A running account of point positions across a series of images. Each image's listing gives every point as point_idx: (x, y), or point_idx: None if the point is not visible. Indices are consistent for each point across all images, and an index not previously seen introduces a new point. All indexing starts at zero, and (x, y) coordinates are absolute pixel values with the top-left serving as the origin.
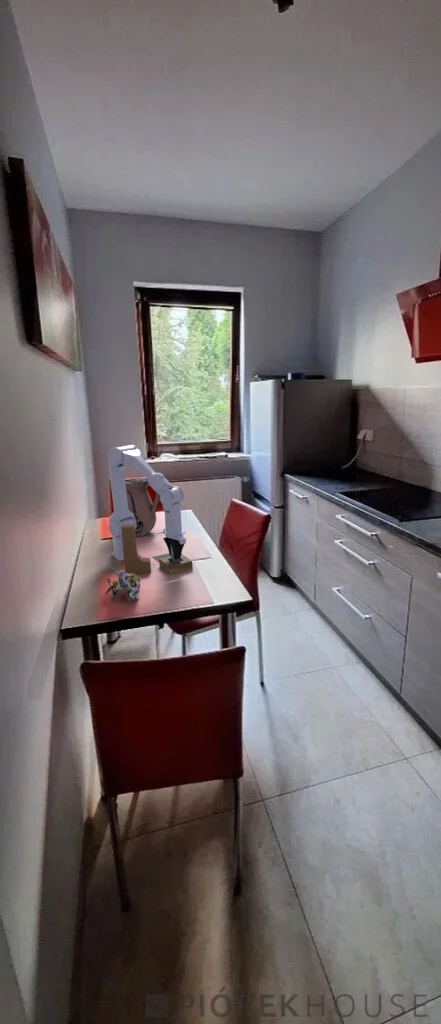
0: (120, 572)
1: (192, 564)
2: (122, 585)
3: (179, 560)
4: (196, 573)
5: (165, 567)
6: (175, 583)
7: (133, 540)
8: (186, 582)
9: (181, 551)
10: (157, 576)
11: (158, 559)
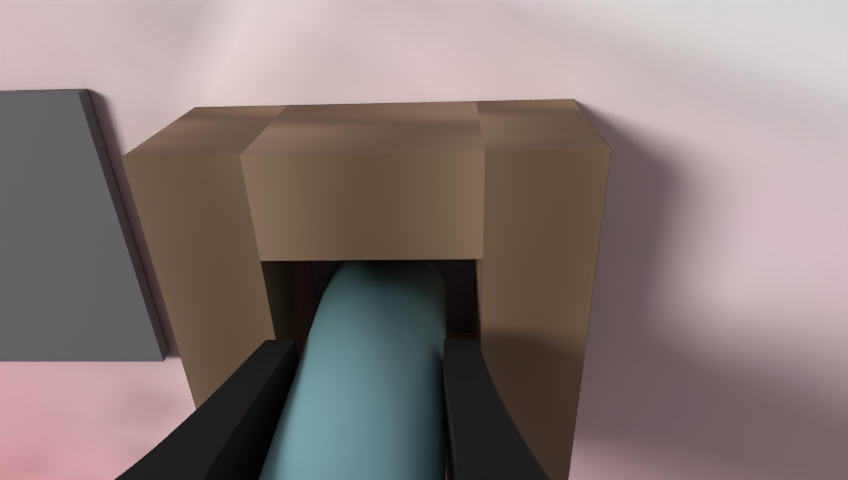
0: None
1: (591, 125)
2: None
3: (430, 307)
4: (722, 111)
5: None
6: (756, 418)
7: None
8: (838, 330)
9: (521, 440)
10: None
11: (14, 333)
